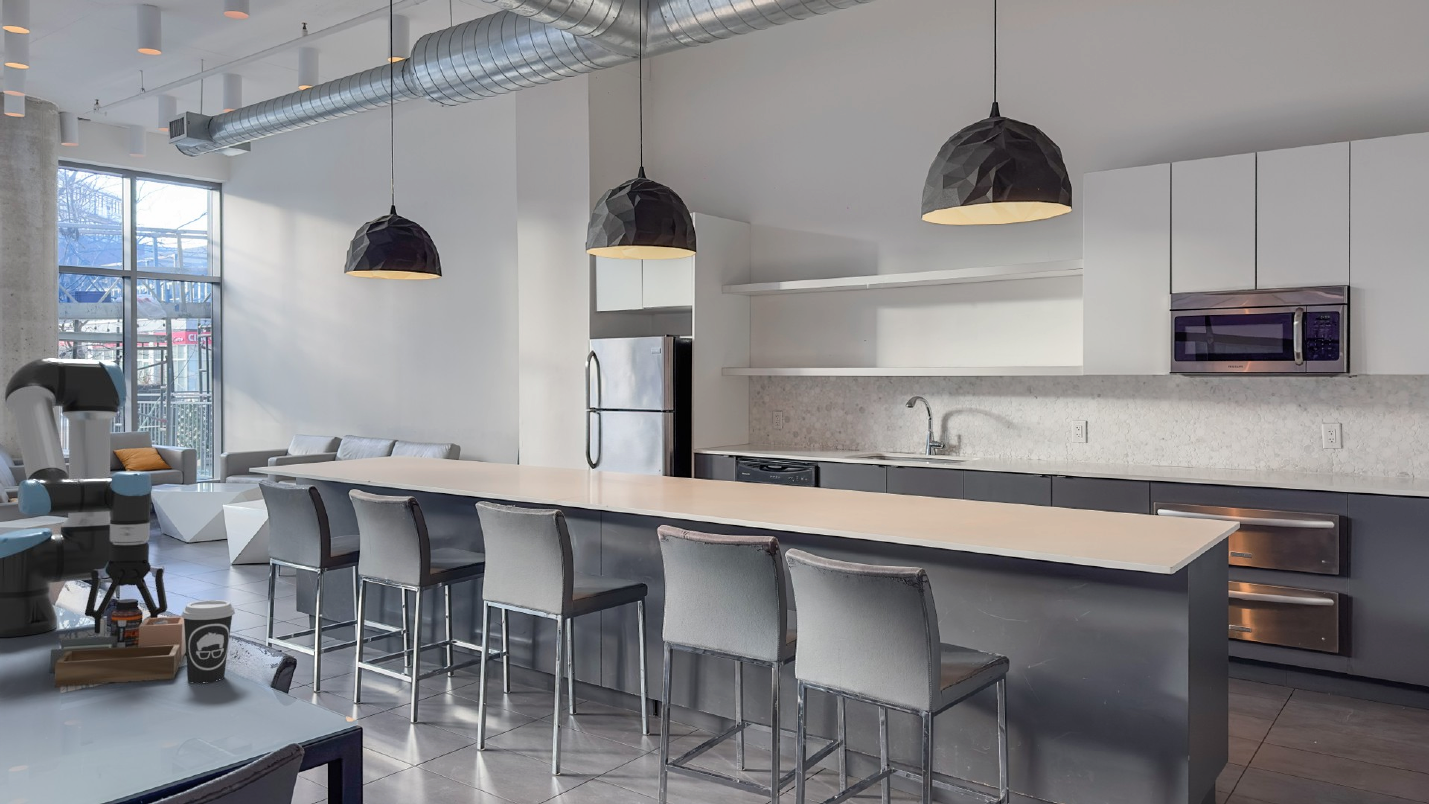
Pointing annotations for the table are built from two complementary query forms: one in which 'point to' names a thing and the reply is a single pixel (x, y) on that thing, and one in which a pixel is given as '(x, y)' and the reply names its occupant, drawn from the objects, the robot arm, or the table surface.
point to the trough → (117, 665)
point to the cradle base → (58, 653)
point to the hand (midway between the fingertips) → (125, 646)
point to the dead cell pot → (163, 632)
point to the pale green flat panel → (89, 646)
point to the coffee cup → (207, 639)
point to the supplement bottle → (126, 623)
